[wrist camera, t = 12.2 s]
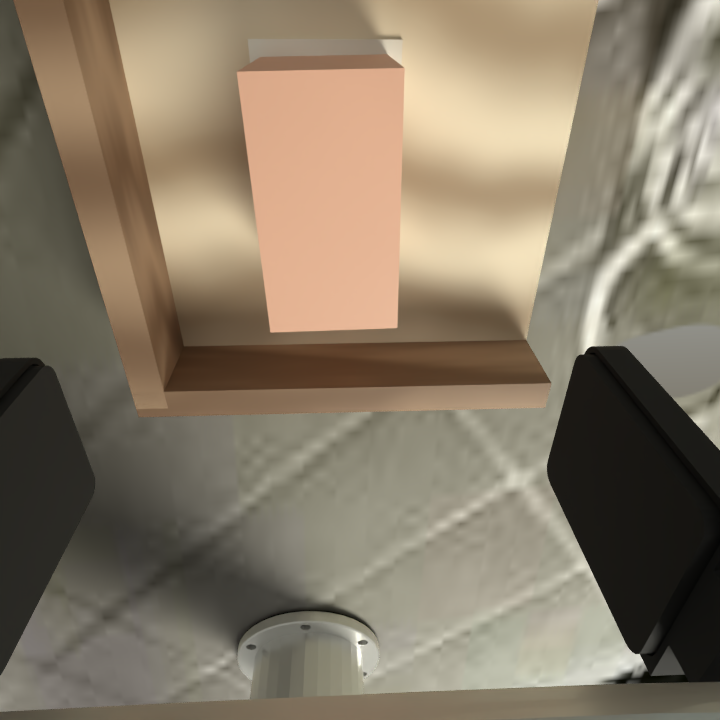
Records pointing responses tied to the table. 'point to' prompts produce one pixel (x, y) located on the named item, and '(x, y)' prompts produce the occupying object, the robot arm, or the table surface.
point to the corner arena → (236, 207)
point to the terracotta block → (326, 187)
